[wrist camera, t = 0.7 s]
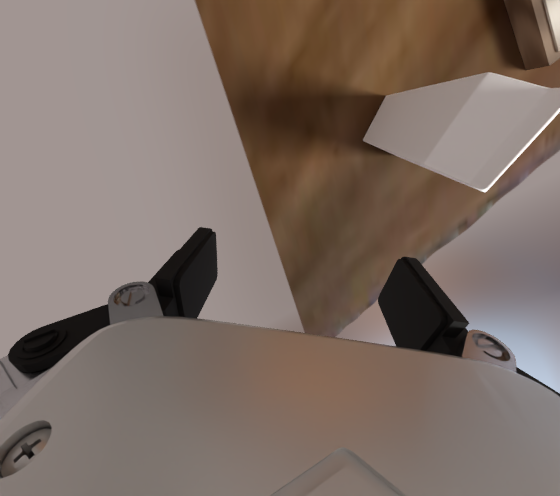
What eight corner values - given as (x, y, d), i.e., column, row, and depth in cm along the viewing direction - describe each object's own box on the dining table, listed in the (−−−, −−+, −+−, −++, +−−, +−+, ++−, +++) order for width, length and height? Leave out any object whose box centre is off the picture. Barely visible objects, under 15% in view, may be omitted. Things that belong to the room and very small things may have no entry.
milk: (422, 113, 30) (626, 109, 12) (395, 156, 33) (522, 208, 15) (384, 94, 29) (538, 57, 11) (360, 140, 33) (447, 174, 14)
